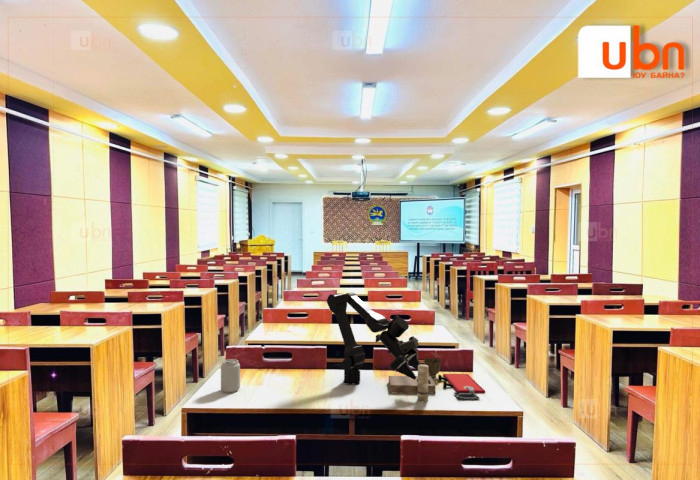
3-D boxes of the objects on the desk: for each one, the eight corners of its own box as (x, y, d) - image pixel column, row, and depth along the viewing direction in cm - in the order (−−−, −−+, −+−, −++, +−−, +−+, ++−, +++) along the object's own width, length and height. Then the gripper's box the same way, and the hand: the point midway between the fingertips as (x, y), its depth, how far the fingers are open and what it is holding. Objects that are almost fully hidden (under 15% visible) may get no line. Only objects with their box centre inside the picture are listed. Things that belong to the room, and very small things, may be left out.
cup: (439, 375, 201) (440, 357, 201) (441, 380, 193) (441, 362, 193) (423, 374, 201) (423, 357, 201) (424, 379, 194) (424, 361, 194)
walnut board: (390, 392, 178) (390, 385, 178) (388, 382, 190) (388, 375, 190) (435, 393, 177) (435, 385, 177) (430, 383, 189) (430, 376, 189)
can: (217, 390, 179) (217, 360, 179) (233, 385, 185) (233, 357, 184) (227, 394, 174) (227, 364, 174) (243, 390, 179) (243, 360, 179)
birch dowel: (418, 401, 168) (418, 367, 168) (416, 397, 173) (417, 364, 173) (429, 401, 168) (429, 367, 168) (427, 397, 173) (427, 364, 172)
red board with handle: (453, 400, 170) (491, 401, 171) (453, 393, 170) (492, 393, 171) (434, 376, 200) (467, 377, 201) (435, 370, 200) (467, 371, 201)
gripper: (397, 335, 165) (426, 369, 160) (413, 326, 182) (440, 356, 177) (378, 354, 168) (405, 387, 164) (395, 343, 185) (421, 373, 180)
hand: (419, 375), depth 171 cm, fingers open, 9 cm apart
